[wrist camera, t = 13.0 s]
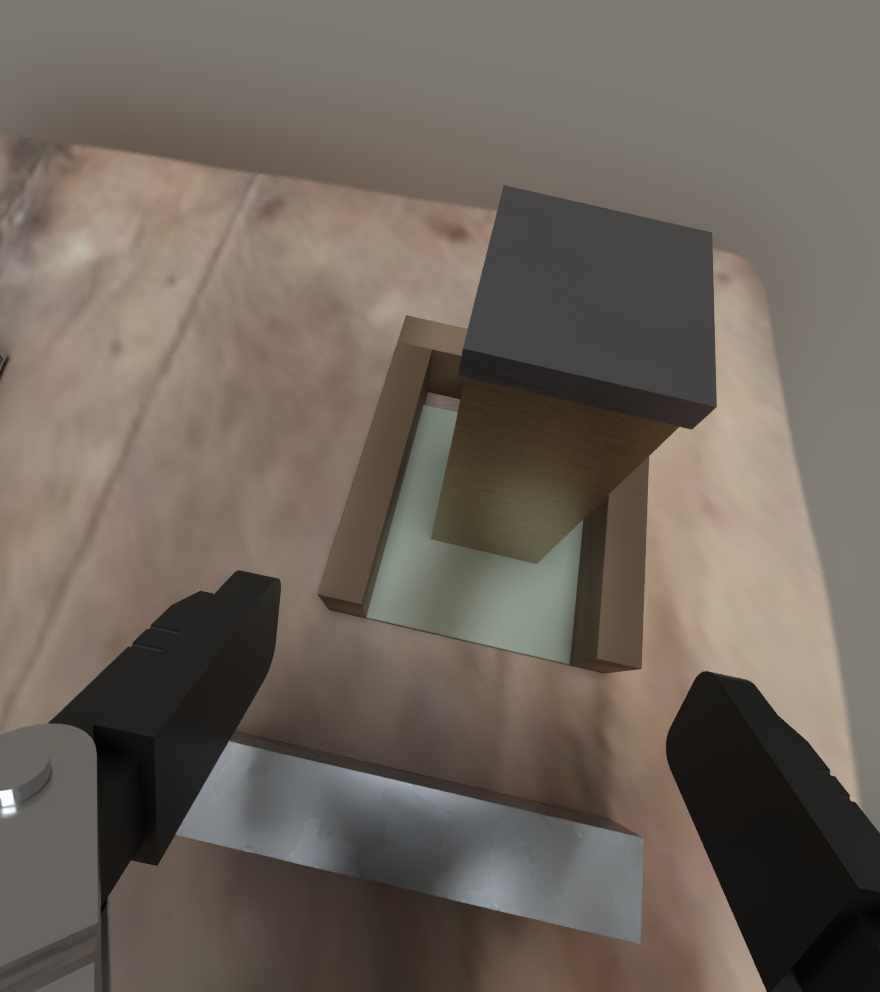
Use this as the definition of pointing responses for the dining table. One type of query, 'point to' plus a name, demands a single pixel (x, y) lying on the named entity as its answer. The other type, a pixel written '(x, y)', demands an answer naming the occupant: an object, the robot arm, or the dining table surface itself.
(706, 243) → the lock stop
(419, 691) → the dining table surface
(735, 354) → the dining table surface
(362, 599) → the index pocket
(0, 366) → the medicine box
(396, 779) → the door edge strip
